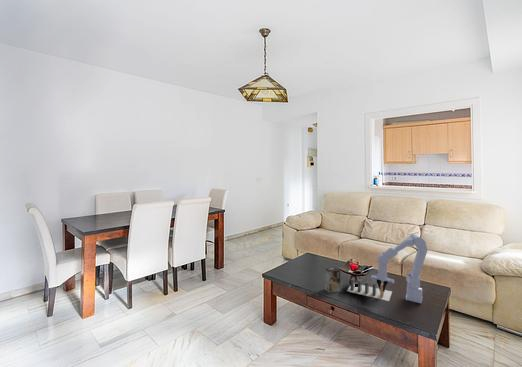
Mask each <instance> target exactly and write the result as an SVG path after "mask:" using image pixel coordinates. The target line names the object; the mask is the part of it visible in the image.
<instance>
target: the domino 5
mask: <svg viewBox="0 0 522 367" xmlns="http://www.w3.org/2000/svg"><path fill="white" fill-rule="evenodd" d="M383 296H384V292H383V282H381V286H380V297H381V298H383Z"/></svg>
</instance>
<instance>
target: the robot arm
mask: <svg viewBox="0 0 522 367" xmlns="http://www.w3.org/2000/svg"><path fill="white" fill-rule="evenodd" d="M426 243H427V242H426V240H425V239H424V238H423V237H421V236H419V235H418V234H416V233H412V234H411V235H409V236H407V237H406V238H405V239H403V241H401V242H400V243H398V245H396V246H395V247H389V248H387V249H386V251H384V252H382V253H380V254H378V255H377V258H376V259H377V260H378V264H377V275H373V274H372V275H371V276H370V279H371V280H376V282H377V283H376V285H378V289H379V290H380V286H381V284H382V283H383V292H384V291H385V290H386V286H387V285H388V283H391V284H395V279H393V278H389V277H388V264H389V261H391V259H393V258H395V257H396V256H397V255H399V252H400V251H402V250H404V249H405V248H407V247H416V249H417V251H416V254H415V258H414V261H413V263H412V268H411V270H410V271H409V272H408V274H407V275H406V276H405V280H406V282H407V283H406V294H405V301H410V302H414V303H418V304H422V302H423V300H424V299H423V298H424V297H423V288H422V287H421V273H422V269H423V266H424V263H425V259H426V257H427V253H428V247H427V244H426Z"/></svg>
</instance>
